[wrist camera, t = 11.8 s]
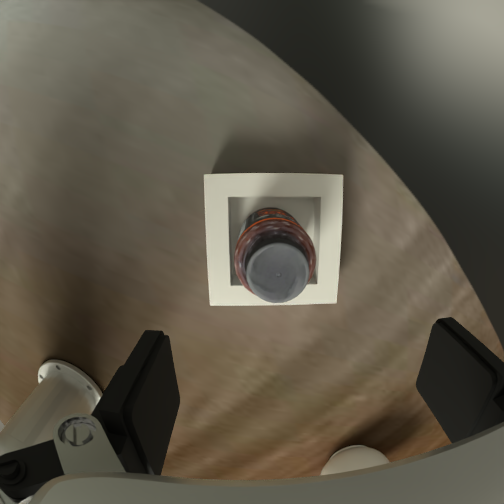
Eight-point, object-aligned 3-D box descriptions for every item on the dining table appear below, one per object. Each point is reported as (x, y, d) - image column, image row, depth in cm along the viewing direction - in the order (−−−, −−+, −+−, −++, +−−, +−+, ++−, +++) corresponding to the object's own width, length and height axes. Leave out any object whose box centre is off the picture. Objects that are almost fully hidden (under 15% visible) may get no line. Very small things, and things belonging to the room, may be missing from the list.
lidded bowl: (391, 453, 41) (409, 498, 30) (330, 482, 43) (339, 527, 32) (371, 423, 38) (392, 476, 28) (300, 456, 40) (307, 511, 29)
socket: (326, 287, 32) (336, 303, 28) (215, 288, 32) (210, 305, 28) (331, 174, 29) (343, 174, 25) (210, 174, 29) (203, 174, 25)
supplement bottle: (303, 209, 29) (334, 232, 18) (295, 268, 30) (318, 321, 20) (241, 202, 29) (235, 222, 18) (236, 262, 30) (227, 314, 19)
